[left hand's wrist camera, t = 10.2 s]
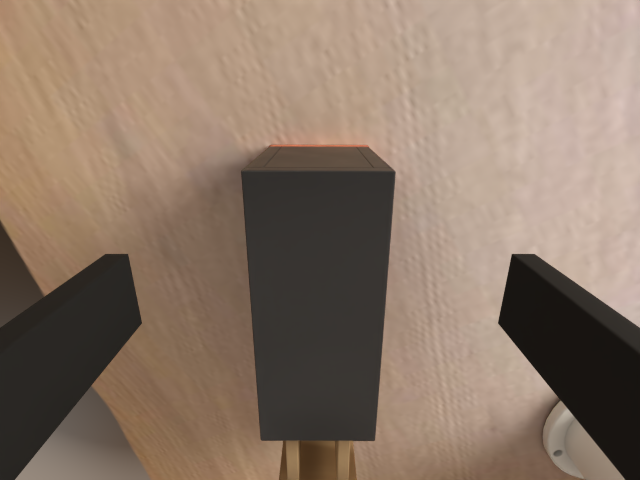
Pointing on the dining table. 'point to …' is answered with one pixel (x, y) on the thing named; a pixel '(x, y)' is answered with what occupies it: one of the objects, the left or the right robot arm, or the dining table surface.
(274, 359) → the cabinet
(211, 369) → the dining table surface
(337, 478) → the drawer
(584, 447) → the right robot arm
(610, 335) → the left robot arm
